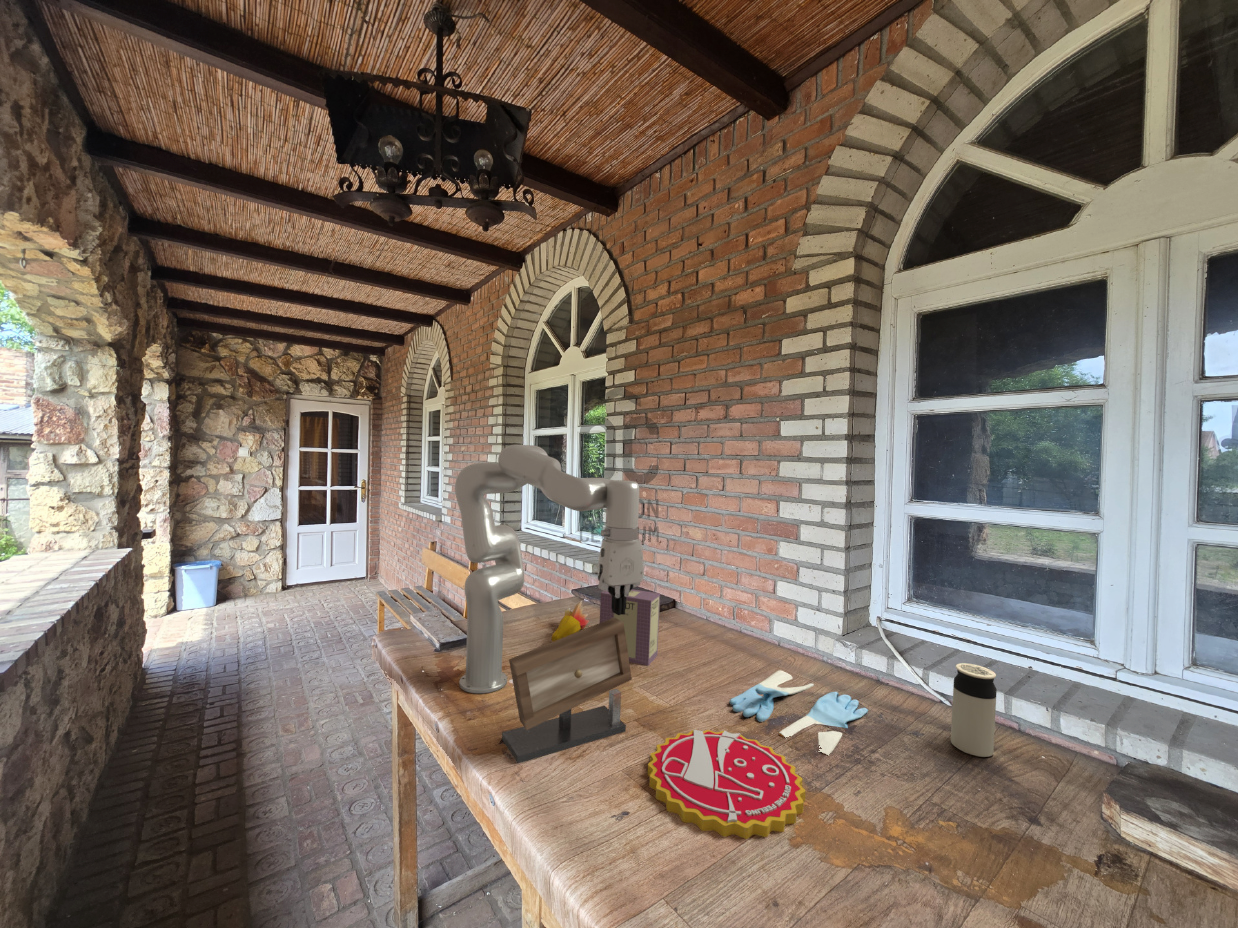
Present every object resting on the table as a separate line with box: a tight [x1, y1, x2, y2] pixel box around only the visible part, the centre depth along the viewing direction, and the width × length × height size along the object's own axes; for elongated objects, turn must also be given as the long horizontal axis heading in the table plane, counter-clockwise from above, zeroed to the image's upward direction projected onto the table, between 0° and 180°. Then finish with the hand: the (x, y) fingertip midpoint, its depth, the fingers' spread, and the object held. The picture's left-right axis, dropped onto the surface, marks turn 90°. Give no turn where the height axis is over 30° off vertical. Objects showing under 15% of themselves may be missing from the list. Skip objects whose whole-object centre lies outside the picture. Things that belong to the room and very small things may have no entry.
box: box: [599, 588, 661, 667], centre depth 160 cm, size 17×9×20 cm, turn 68°
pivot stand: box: [501, 688, 627, 764], centre depth 113 cm, size 10×26×16 cm, turn 121°
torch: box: [551, 600, 590, 642], centre depth 175 cm, size 8×8×25 cm
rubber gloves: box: [729, 669, 869, 757], centre depth 130 cm, size 27×33×6 cm
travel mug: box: [950, 662, 998, 758], centre depth 115 cm, size 8×8×18 cm
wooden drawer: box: [508, 617, 633, 730], centre depth 110 cm, size 5×26×14 cm, turn 121°
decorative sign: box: [647, 729, 806, 840], centre depth 100 cm, size 30×3×30 cm
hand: (618, 613), depth 116 cm, fingers closed
